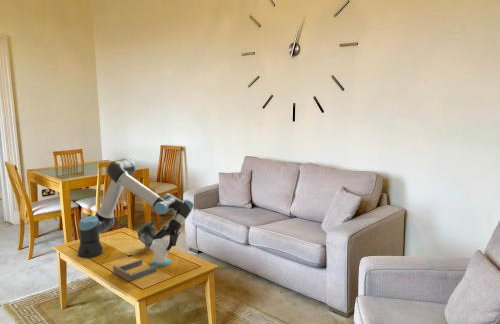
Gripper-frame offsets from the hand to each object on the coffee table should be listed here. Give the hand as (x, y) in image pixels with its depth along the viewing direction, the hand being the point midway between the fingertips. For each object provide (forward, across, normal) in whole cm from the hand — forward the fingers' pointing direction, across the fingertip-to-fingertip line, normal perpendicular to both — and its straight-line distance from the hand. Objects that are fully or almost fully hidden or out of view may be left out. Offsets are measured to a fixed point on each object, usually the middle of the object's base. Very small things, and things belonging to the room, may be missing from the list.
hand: (156, 252), depth 227 cm
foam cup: (+3, 0, -7) cm, 8 cm away
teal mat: (+4, 0, -7) cm, 8 cm away
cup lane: (+16, 0, +5) cm, 16 cm away
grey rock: (-3, +27, -14) cm, 31 cm away
